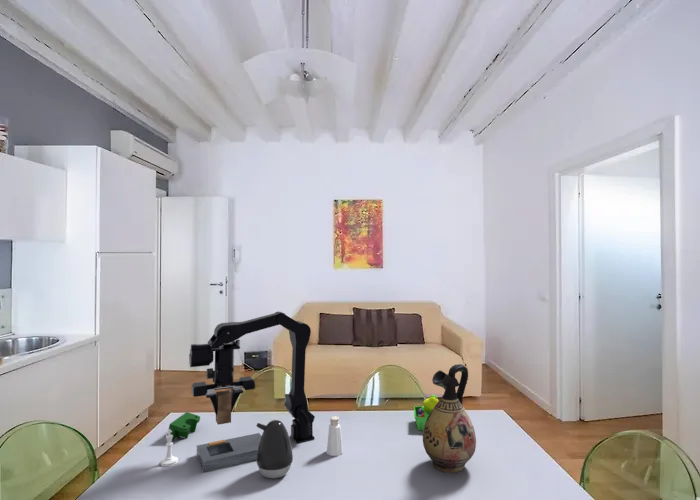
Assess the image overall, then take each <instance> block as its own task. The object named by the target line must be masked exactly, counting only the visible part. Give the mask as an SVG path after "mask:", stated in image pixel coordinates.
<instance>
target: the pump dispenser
mask: <svg viewBox="0 0 700 500" xmlns="http://www.w3.org/2000/svg"><path fill="white" fill-rule="evenodd" d="M256 427H257V428H258V429H260V430H263V431H262V434H261V439H260V442H259V447H258V453H257V460H256V464H257V467H258V471H259V472H260V474H261V475H262V476H264V477H265V478H267V479H278V478H282V477H283V476H284V475H286V474H287V473H288V472H289V470H290V469H291V467H292V463H293V459H294V458H293V457H294V455H293V447H292V442H291V439H290V436H289V433H288V430H287V427H286V426H285V424H284V423H283V422H282V421H281V420H279V419H273V420H270V421H268V423H267V424H263V423H259V422H257V424H256Z"/></svg>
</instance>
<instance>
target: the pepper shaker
mask: <svg viewBox="0 0 700 500" xmlns="http://www.w3.org/2000/svg"><path fill="white" fill-rule="evenodd" d="M329 420H330V424H329V426H328V433H327V434H328V435H327V444H326V445H327V446H326V455H328V456H330V457H338V456H341V455H343V451H344V450H343V449H344V448H343V440H342V439H343V438H342V428H341V424H340V418H339V416H335V415H334V416H331V417H330V418H329Z"/></svg>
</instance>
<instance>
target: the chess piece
mask: <svg viewBox="0 0 700 500" xmlns="http://www.w3.org/2000/svg"><path fill="white" fill-rule="evenodd" d="M168 429H169V428H168ZM171 432H172V430H171V429H169V430H167V432H166V436H165V439H166V443H165V446H166V447H167V449H166V456H165V457H164V458H162V459H161V461H160V466H161V467H165V468H167V467H172V466H175V465H177V464H178V463H179V458H178V457H177V456H174V455H173V451H172V446H173V445H174V442H172V441H173V440H172V438H173V435H171ZM167 434H168V435H167Z"/></svg>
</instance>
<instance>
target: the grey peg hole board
mask: <svg viewBox="0 0 700 500" xmlns="http://www.w3.org/2000/svg"><path fill="white" fill-rule="evenodd" d="M261 436H262V434H261V433H260V432H257V433H252V434H247V435H243V436H238V437H234V438H233V437H232V438H227V439H222V440H221V439H220V440H217V441H211V442H208V443H202V444H198V445H196V458H197V460H198V463H199V466H200V468H201V471H202V473H207V472H210V471H214V470H215V471H216V470H218V469H219V470H220V469H224V468H229V467H233V466H236V465H240V464H245V463H248V462H249V463H250V462H253V461H257V453H258V447H259V442H260V439H261Z"/></svg>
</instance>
